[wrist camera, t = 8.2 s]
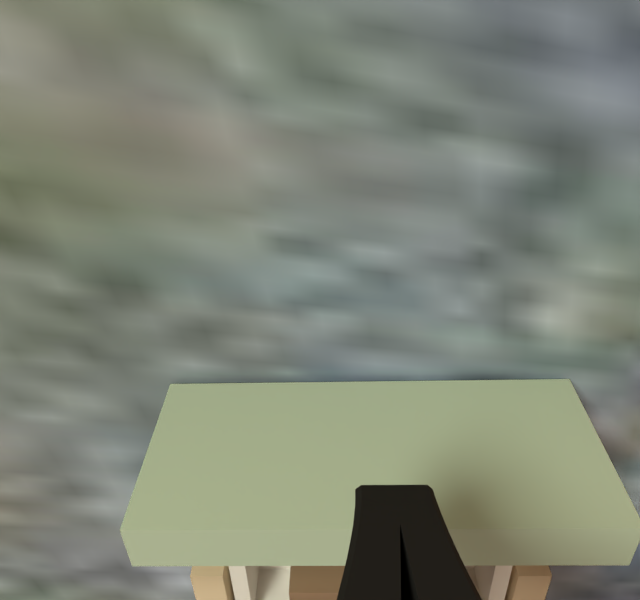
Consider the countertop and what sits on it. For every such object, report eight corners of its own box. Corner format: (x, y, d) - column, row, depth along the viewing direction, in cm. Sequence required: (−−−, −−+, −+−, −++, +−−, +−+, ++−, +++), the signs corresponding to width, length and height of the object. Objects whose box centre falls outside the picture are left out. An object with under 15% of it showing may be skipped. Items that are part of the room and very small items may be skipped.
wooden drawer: (522, 559, 26) (567, 711, 21) (210, 560, 26) (181, 709, 21) (569, 379, 20) (644, 527, 15) (170, 383, 20) (120, 530, 16)
